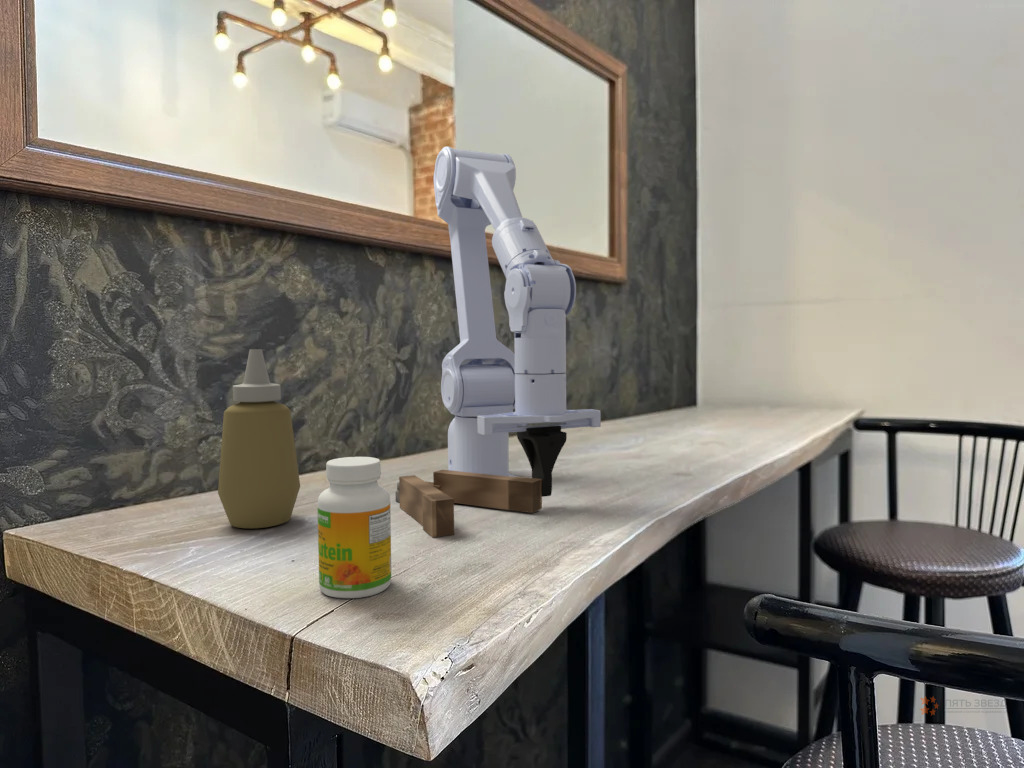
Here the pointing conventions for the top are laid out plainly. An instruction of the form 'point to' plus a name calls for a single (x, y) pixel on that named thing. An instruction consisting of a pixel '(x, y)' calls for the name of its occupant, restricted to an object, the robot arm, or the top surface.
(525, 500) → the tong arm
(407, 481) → the brown wooden block
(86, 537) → the top surface
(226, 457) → the squeeze bottle
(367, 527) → the supplement bottle
